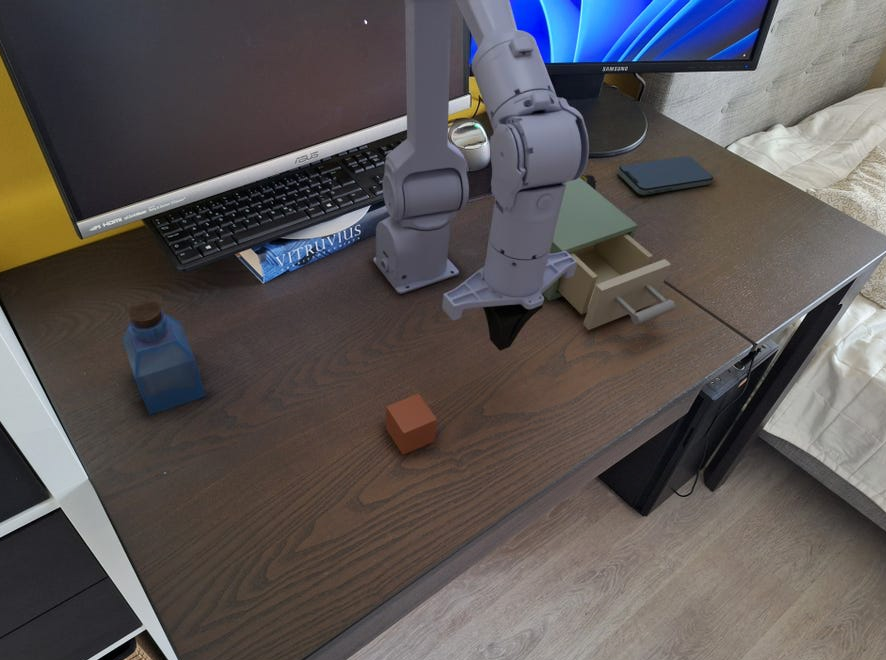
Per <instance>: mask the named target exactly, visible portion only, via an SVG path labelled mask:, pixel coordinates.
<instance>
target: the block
mask: <svg viewBox="0 0 886 660" xmlns="http://www.w3.org/2000/svg"><path fill="white" fill-rule="evenodd" d="M385 415H386V416H385V430H386V431H387V433H388V434H389V437H391V439H392V441H393V442H394V443H395V445H396V447H397V449H398V450H399V451H400V453H401V455H403V456H404V455H406V454H408V453H411V452H413V451H415V450H417V449H420V448H422V447H424V446H426V445H430V444H431V443H433V442H435V440H436V432H437V423H438V419H437V417H436V416H435V414H434V413H433V412H432V410H431V409H430V407H429V406H428V404H427V403H426V402H425V400H424V399H423V397H422V396H421V394H420V393H416V394H414V395H411V396H408V397H406V398H403V399H401V400H399V401H396V402H394V403H392V404H388V405H386V407H385Z"/></svg>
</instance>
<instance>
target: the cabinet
mask: <svg viewBox="0 0 886 660" xmlns="http://www.w3.org/2000/svg"><path fill="white" fill-rule="evenodd" d="M565 184H566V188H565V192H564V196H563V200H562V204H561V208H560V212H559V216H558V220H557V225H556V229H555V233H554V237H553V241H552V245H551V249H550V253H549V254H554V253H559V252H563V251H567V252H568V253H570V252H573V251H576V250H579V249H582V248H585V247H588V246H591V245H593V244H596V243H599V242H602V241H605V240H608V239H611V238H614V237H617V236H619V235H622V234H625V233H627V234H628V235H629V236H630V237H632V238H633V239H634V237H635V234H636V231H637V228H638V223H636V222H635V221H633V220H632V219H631V218H630V217H629V216H628V215H626V214H625V213H624V212H622V211H621V210H620V209H619V208H618V207H616V206H615V205H614V204H613V203H612V202H611V201H610V200H609V199H607V198H606V197H604V196H603V194H601V193H600V192H598V191H597V189H596V190H595V189H593V188H592V187H591V186H590V185H588V184H587V183H586V182H585V181H584V180H582V179H581V178H578V179H577V180H571V181H569V182H566V183H565ZM558 282H559V279H558V280H556V281H555V282H554V283H553V284H552V285H551V286H550V287H549V288H548V289H546V290H545V291H544V292H543V293H542V295H543V297H544V298H546V299H547V301H548V302H551V301H553V300H556V299H559V298H562V297H564V296H563V295H562V294H561V293H560V292H559V291H558V290H557V286H558Z"/></svg>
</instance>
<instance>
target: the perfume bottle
mask: <svg viewBox="0 0 886 660" xmlns="http://www.w3.org/2000/svg"><path fill="white" fill-rule="evenodd" d="M127 314H128V317H129V324H130V325H129V326H128V327H127V329H126V331H125V333H124V335H123V337H122V339H121V340H122V342H123V345H124V348H125V351H126V355H127V358H128V361H129V364H130V368H131V371H132V375H133V377H134V381H135V382H136V385H137V387H138V389H139V393H140V395H141V398H142V399H143V402H144V404H145V407H146V409H147V411H148V414H149V415H150V416H151V415H154V414H157V413H160V412H163V411H166V410H169V409H171V408H175V407H178V406H181V405H184V404H186V403H190V402H192V401H195V400H199V399H202V398H205V397H207V394H206V391H205V388H204V384H203V381H202V378H201V374H200V370H199V367H198V363H197V361H196V358H195V355H194V352H193V351H192V348H191V345H190V343H189V340H188V338H187V335H186V333H185V331H184V328H183V325H182V322H181V321H179V320H178V319H175V318H173V317H172V316H169V315H166V313H165V311H163V309H162V305H161V304H160V302H158V301H157V300H155V299H149V298H148V299H147V298H145V299H140V300H138V301H136V302H134V303H133V304H131V305H130V306H129V308H128V310H127Z"/></svg>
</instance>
